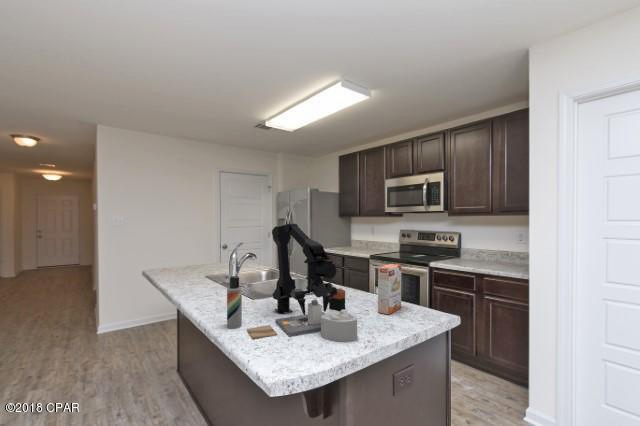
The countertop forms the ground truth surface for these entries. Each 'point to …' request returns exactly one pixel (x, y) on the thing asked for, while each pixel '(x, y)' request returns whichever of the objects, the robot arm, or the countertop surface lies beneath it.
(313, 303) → the plug
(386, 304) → the cracker box
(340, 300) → the battery
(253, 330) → the rest pad
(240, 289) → the lotion bottle
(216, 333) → the countertop surface
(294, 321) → the grey square tray
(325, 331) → the lumpy-topped squat cylinder
